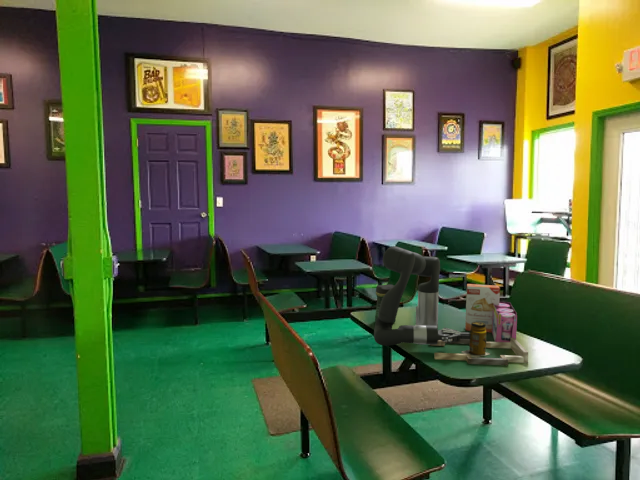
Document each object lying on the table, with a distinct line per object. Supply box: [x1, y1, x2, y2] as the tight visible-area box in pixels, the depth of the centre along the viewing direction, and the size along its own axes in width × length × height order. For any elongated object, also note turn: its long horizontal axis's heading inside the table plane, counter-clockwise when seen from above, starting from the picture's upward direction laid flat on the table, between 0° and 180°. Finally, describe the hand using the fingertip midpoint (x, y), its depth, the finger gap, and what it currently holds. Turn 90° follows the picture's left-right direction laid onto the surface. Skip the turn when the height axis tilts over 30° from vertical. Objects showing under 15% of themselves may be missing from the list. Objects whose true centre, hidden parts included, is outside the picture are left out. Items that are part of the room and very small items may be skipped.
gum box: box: [491, 301, 518, 342], centre depth 192 cm, size 24×8×14 cm, turn 164°
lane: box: [429, 338, 529, 366], centre depth 175 cm, size 34×24×4 cm
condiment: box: [460, 322, 491, 358], centre depth 174 cm, size 7×8×12 cm
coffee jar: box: [374, 284, 396, 324], centre depth 217 cm, size 10×8×19 cm
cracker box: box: [464, 283, 501, 334], centre depth 203 cm, size 14×6×21 cm, turn 73°
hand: (470, 336), depth 175 cm, fingers closed
